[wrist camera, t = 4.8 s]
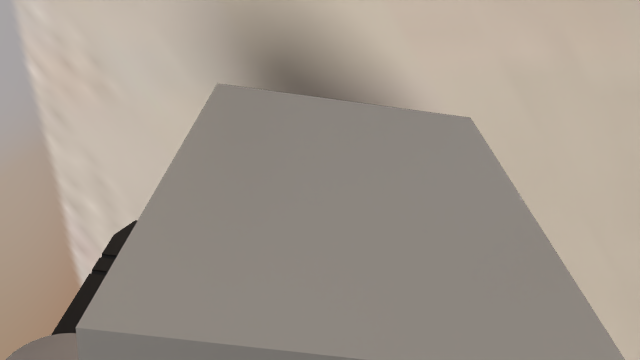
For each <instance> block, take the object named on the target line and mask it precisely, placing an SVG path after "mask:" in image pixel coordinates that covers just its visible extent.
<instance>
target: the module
mask: <svg viewBox="0 0 640 360" xmlns="http://www.w3.org/2000/svg"><path fill="white" fill-rule="evenodd" d="M76 337H77V347H78V358H79V360H625V359H624V357H623V356H622V354H621V353H620V351H619V350H618V348H617V347H616V345H615V343H614V342H613V340H612V339H611V337H610V336H609V334H608V332H607V331H606V329H605V328H604V326H603V325H602V323H601V321H600V320H599V318H598V317H597V315H596V314H595V312H594V310H593V309H592V307H591V306H590V304H589V303H588V301H587V299H586V298H585V296H584V295H583V293H582V292H581V290H580V288H579V287H578V285H577V284H576V282H575V281H574V279H573V277H572V276H571V274H570V273H569V271H568V270H567V268H566V267H565V265H564V263H563V262H562V260H561V259H560V257H559V256H558V254H557V252H556V251H555V249H554V248H553V246H552V245H551V243H550V241H549V240H548V238H547V237H546V235H545V234H544V232H543V230H542V229H541V227H540V226H539V224H538V223H537V221H536V219H535V218H534V216H533V215H532V213H531V212H530V210H529V208H528V207H527V205H526V204H525V202H524V201H523V199H522V198H521V196H520V194H519V193H518V191H517V190H516V188H515V187H514V185H513V183H512V182H511V180H510V179H509V177H508V176H507V174H506V172H505V171H504V169H503V168H502V166H501V165H500V163H499V161H498V160H497V158H496V157H495V155H494V154H493V152H492V150H491V149H490V147H489V146H488V144H487V143H486V141H485V139H484V138H483V136H482V135H481V133H480V132H479V130H478V129H477V127H476V125H475V124H474V122H473V121H472V119H471V118H469V117H462V116H455V115H447V114H440V113H432V112H425V111H418V110H410V109H403V108H395V107H388V106H381V105H373V104H366V103H358V102H351V101H343V100H336V99H329V98H321V97H314V96H306V95H299V94H292V93H284V92H277V91H269V90H262V89H255V88H247V87H240V86H232V85H225V84H218V83H217V85H216V87H215V89H214V90H213V92H212V94H211V95H210V97H209V99H208V101H207V102H206V104H205V106H204V107H203V109H202V111H201V113H200V114H199V116H198V118H197V120H196V121H195V123H194V125H193V126H192V128H191V130H190V132H189V133H188V135H187V137H186V138H185V140H184V142H183V144H182V145H181V147H180V149H179V151H178V152H177V154H176V156H175V157H174V159H173V161H172V163H171V164H170V166H169V168H168V169H167V171H166V173H165V175H164V176H163V178H162V180H161V181H160V183H159V185H158V187H157V188H156V190H155V192H154V194H153V195H152V197H151V199H150V200H149V202H148V204H147V206H146V207H145V209H144V211H143V212H142V214H141V216H140V218H139V219H138V221H137V223H136V225H135V226H134V228H133V230H132V231H131V233H130V235H129V237H128V238H127V240H126V242H125V243H124V245H123V247H122V249H121V250H120V252H119V254H118V256H117V257H116V259H115V261H114V262H113V264H112V266H111V268H110V269H109V271H108V273H107V274H106V276H105V278H104V280H103V281H102V283H101V285H100V286H99V288H98V290H97V292H96V293H95V295H94V297H93V299H92V300H91V302H90V304H89V305H88V307H87V309H86V311H85V312H84V314H83V316H82V317H81V319H80V321H79V323H78V324H77V326H76Z"/></svg>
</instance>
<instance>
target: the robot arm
mask: <svg viewBox="0 0 640 360" xmlns="http://www.w3.org/2000/svg"><path fill="white" fill-rule="evenodd" d="M136 223H137V221H136V220H135V221H134V222H132V223H131V224H129V225H128V226H126V227H125V228H123V229H122V230H120V231H119V232H117V233H116V234H115V235H114V236H113V237H112V239H111V240H110V242H109V244H108V245H107V247H106V248H105V250H104V252H103V253H102V257H101V258H99V259H98V261H97V263H96V264H95V266H94V267H93V269H92V273H91V274H89V275H88V277H87V279H86V280H85V282H84V283H83V285H82V287H81V288H80V290H79V291H78V293H77V295H76V296H75V298H74V299H73V301H72V303H71V304H70V306H69V307H68V309H67V311H66V312H65V314H64V315H63V317H62V319H61V320H60V322H59V324H58V325H57V327H56V328H55V330H54V332H53V333H52V335H51V336H47V337H43V338H40V339H37V340H35V341H32V342H30V343H28V344H26V345H24V346H23V347H21V348H19V349H18V350H17V351H15V352H14V353H12V354H11V355H10V356H9V357H8V358H7V359H6V360H79V358H78V347H77V337H76V326H77V324H78V323H79V321H80V319H81V317H82V316H83V314H84V312H85V311H86V309H87V307H88V305H89V304H90V302H91V300H92V299H93V297H94V295H95V293H96V292H97V290H98V288H99V286H100V285H101V283H102V281H103V280H104V278H105V276H106V274H107V273H108V271H109V269H110V268H111V266H112V264H113V262H114V261H115V259H116V257H117V256H118V254H119V252H120V250H121V249H122V247H123V245H124V243H125V242H126V240H127V238H128V237H129V235H130V233H131V231H132V230H133V228H134V226H135V225H136Z"/></svg>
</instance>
